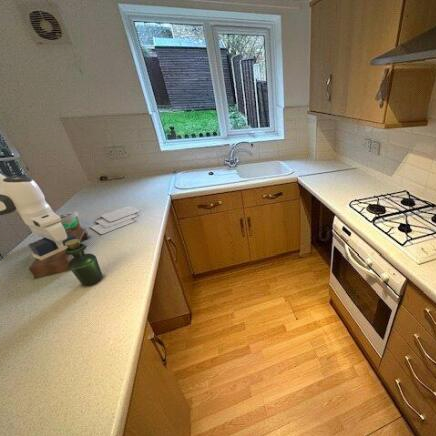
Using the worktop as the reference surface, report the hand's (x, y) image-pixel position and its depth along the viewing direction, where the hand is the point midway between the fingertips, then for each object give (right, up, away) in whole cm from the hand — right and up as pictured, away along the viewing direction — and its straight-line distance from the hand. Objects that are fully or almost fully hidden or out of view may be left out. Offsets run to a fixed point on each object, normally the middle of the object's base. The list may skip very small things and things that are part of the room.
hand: (55, 245), depth 102 cm
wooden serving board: (-1, -5, +6) cm, 8 cm away
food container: (-15, +3, +23) cm, 27 cm away
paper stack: (0, +11, +36) cm, 37 cm away
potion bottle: (+24, -13, -9) cm, 28 cm away
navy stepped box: (0, -2, +1) cm, 2 cm away
